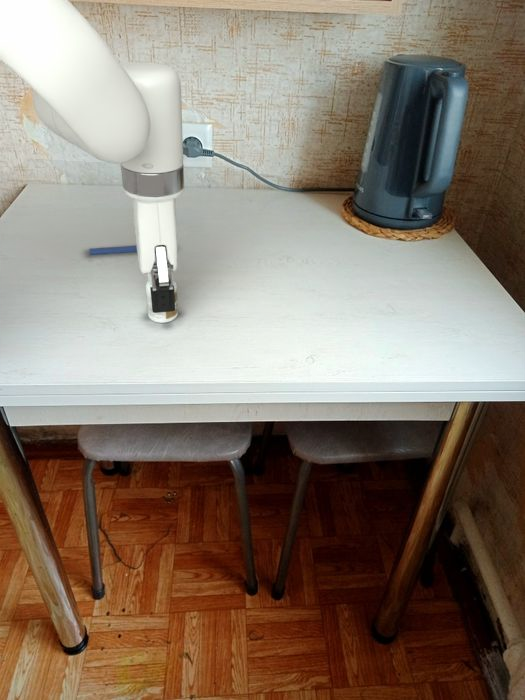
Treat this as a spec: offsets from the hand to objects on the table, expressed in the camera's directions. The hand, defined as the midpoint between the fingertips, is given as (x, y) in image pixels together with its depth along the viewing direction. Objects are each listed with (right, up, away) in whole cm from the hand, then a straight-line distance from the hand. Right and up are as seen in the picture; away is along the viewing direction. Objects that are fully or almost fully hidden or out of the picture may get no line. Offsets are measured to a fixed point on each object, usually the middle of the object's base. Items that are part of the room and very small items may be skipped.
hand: (161, 299), depth 74 cm
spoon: (-8, +11, +17) cm, 22 cm away
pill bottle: (0, -2, +2) cm, 3 cm away
